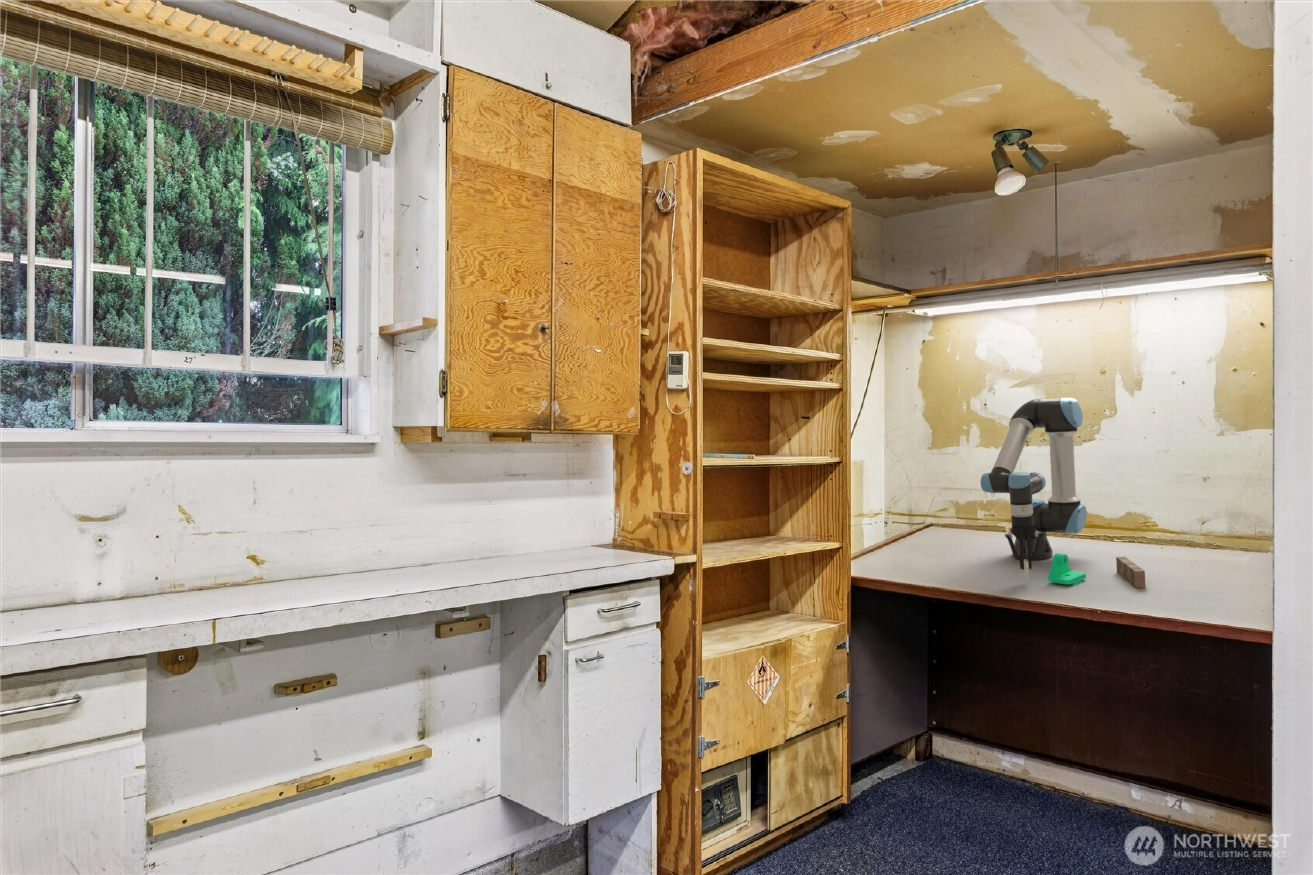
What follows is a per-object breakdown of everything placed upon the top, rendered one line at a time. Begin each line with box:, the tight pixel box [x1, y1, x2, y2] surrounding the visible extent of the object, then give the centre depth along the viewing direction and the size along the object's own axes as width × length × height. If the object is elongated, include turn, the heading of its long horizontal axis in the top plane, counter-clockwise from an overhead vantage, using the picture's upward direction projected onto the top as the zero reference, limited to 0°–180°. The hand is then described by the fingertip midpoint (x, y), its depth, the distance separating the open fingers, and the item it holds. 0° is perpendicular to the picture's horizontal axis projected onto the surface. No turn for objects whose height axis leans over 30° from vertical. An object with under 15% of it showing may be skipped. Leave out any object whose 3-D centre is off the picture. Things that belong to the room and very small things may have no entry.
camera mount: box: [1047, 553, 1087, 586], centre depth 304 cm, size 12×8×10 cm, turn 122°
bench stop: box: [1115, 556, 1146, 589], centre depth 298 cm, size 20×3×6 cm, turn 168°
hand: (1026, 577), depth 306 cm, fingers closed
